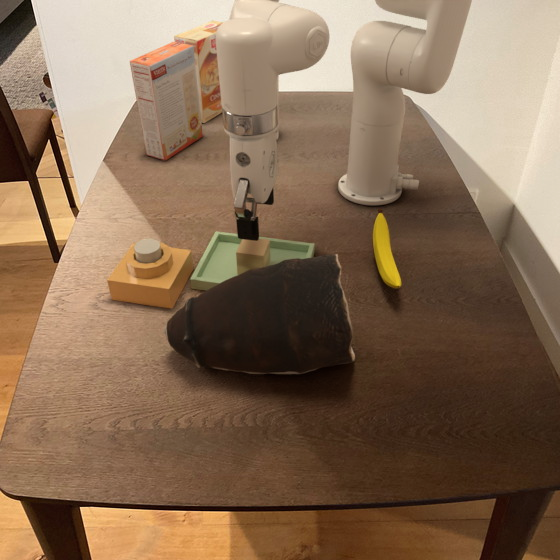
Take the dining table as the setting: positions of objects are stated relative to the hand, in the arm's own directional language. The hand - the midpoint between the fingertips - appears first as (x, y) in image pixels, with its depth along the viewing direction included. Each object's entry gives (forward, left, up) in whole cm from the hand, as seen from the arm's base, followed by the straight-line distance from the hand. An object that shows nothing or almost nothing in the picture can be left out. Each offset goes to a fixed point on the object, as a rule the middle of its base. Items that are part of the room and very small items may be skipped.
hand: (256, 220), depth 90 cm
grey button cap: (+15, +8, -4) cm, 18 cm away
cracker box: (+29, -39, -10) cm, 50 cm away
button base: (+15, +8, -10) cm, 20 cm away
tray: (0, +1, -10) cm, 9 cm away
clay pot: (-5, +19, -10) cm, 21 cm away
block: (+1, +1, -9) cm, 9 cm away
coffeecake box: (+27, -60, -10) cm, 67 cm away
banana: (-21, -3, -10) cm, 23 cm away
